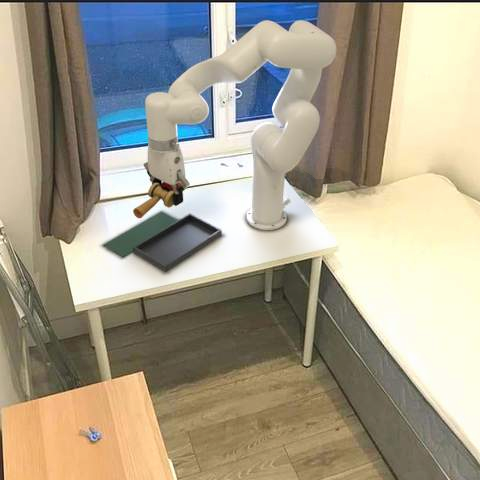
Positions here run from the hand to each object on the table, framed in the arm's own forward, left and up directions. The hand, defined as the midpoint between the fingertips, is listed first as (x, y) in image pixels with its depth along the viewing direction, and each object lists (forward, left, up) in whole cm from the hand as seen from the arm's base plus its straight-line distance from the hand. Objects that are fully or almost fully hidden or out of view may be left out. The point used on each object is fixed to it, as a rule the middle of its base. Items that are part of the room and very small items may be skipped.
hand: (168, 198), depth 167 cm
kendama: (+4, 0, -1) cm, 4 cm away
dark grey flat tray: (-1, +2, -15) cm, 16 cm away
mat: (+3, -9, -15) cm, 18 cm away
